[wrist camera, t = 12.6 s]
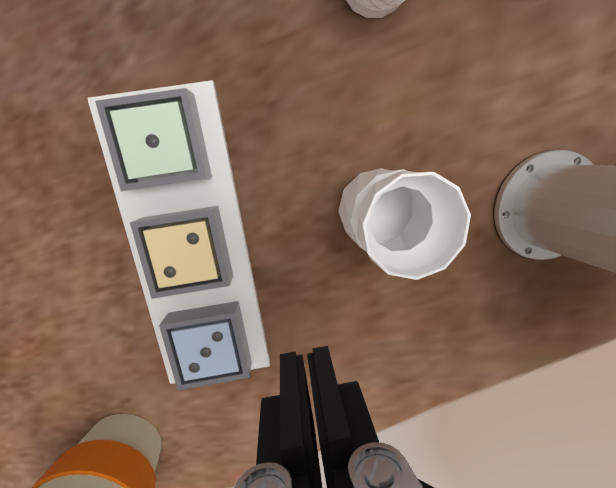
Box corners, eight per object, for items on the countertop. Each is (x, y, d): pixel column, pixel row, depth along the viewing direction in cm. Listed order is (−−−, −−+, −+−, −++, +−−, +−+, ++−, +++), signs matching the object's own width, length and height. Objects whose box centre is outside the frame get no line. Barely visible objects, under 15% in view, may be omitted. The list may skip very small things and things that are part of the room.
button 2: (210, 217, 35) (204, 221, 33) (221, 270, 37) (217, 278, 34) (152, 226, 35) (142, 231, 32) (166, 279, 36) (158, 288, 34)
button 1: (185, 105, 32) (177, 101, 30) (199, 168, 34) (192, 169, 31) (122, 114, 32) (109, 111, 30) (139, 177, 34) (128, 179, 31)
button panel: (214, 82, 34) (206, 72, 30) (270, 361, 42) (269, 382, 38) (92, 99, 33) (68, 91, 29) (172, 378, 41) (161, 401, 37)
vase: (413, 241, 39) (468, 275, 28) (339, 247, 39) (364, 285, 27) (413, 164, 37) (474, 166, 25) (335, 170, 37) (360, 175, 25)
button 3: (231, 312, 38) (227, 322, 35) (241, 358, 39) (238, 371, 37) (178, 321, 38) (170, 332, 35) (190, 367, 39) (184, 381, 37)
